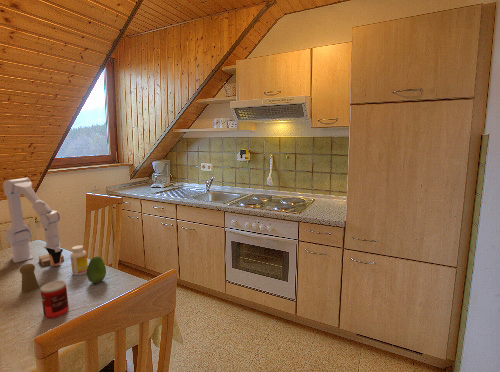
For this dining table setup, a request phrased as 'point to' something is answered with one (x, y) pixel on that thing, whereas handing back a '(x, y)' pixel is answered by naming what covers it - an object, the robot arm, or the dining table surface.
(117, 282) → the dining table surface
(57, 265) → the tan rounded cylinder
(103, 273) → the fruit
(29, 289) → the cork
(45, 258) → the walnut board
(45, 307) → the canned food
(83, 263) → the supplement bottle
